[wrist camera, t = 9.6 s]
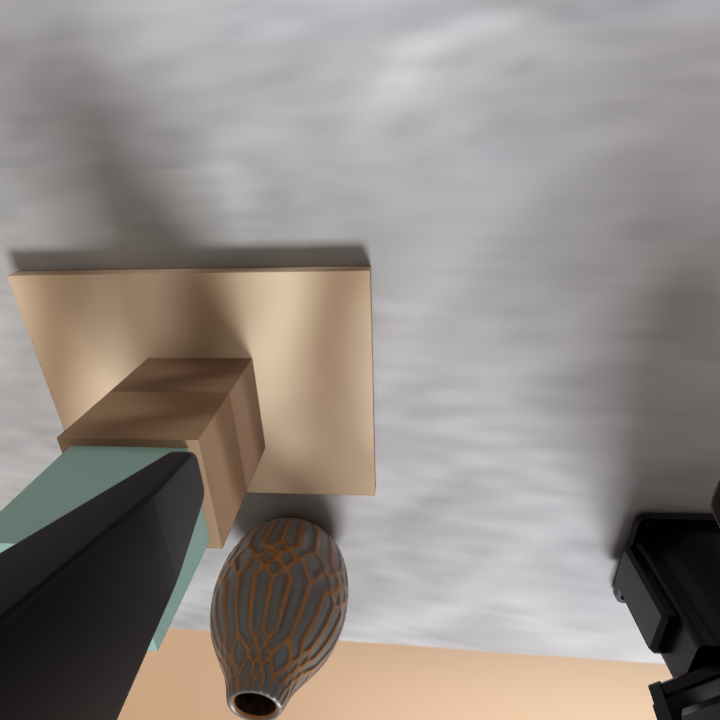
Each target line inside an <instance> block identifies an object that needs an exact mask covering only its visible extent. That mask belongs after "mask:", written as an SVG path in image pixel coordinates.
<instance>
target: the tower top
mask: <svg viewBox="0 0 720 720" xmlns="http://www.w3.org/2000/svg"><path fill="white" fill-rule="evenodd" d="M57 440H58V443H59V445H60V448H61V450H62V453H64V452H65V451H66V450H67V449H68V448H69V447H70V446H111V447H158V448H189V451H190V452H193V453H194V454H195V455H196V456H197V459H198V463H199V467H200V471H201V476H202V480H203V485H204V500H203V503H202V507H203V511H204V516H205V520H206V524H207V529H208V533H209V537H210V540H209V542H208V545H207V547H206V548H220V549H222V548H223V546H224V544H225V541H226V539H227V537H228V534H229V532H230V530H231V527H232V525H233V523H234V520H235V518H236V516H237V513H238V511H239V509H240V506H241V504H242V501H243V499H244V497H245V494H246V492H247V487H246V482H245V476H244V471H243V465H242V459H241V454H240V448H239V443H238V437H237V431H236V426H235V420H234V414H233V409H232V403H231V398H230V393H210V392H109V393H107V394H106V395H105V396H104V397H103V398H102V399H101V400H99V401H98V402H97V403H96V404H95V405H94V406H93V407H91V408H90V409H89V410H88V411H87V412H86V413H85V414H83V415H82V416H81V417H80V418H79V419H78V420H77V421H75V422H74V423H73V424H72V425H71V426H70V427H69V428H67V429H66V430H65V431H64V432H63V433H62V434H61V435H59V436H58V437H57Z"/></svg>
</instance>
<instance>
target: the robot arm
mask: <svg viewBox="0 0 720 720" xmlns="http://www.w3.org/2000/svg"><path fill="white" fill-rule="evenodd" d="M203 500H204V485H203V480H202V476H201V471H200V467H199V463H198V459H197V456H196V455H195V454H194V453H193V452H184V451H173V452H170V453H168V454H166V455H164V456H163V457H161V458H159V459H158V460H156V461H154V462H152V463H151V464H149V465H147V466H146V467H144V468H142V469H141V470H139V471H137V472H136V473H134V474H132V475H131V476H129V477H127V478H126V479H124V480H122V481H120V482H119V483H117V484H115V485H114V486H112V487H110V488H109V489H107V490H105V491H104V492H102V493H100V494H99V495H97V496H95V497H94V498H92V499H90V500H88V501H87V502H85V503H83V504H82V505H80V506H78V507H77V508H75V509H73V510H72V511H70V512H68V513H67V514H65V515H63V516H61V517H60V518H58V519H56V520H55V521H53V522H51V523H50V524H48V525H46V526H45V527H43V528H41V529H40V530H38V531H36V532H35V533H33V534H31V535H29V536H28V537H26V538H24V539H23V540H21V541H19V542H18V543H16V544H14V545H13V546H11V547H9V548H8V549H6V550H4V551H3V552H1V553H0V720H117V719H118V716H119V714H120V712H121V709H122V707H123V705H124V703H125V700H126V698H127V696H128V693H129V691H130V689H131V686H132V684H133V682H134V680H135V677H136V675H137V673H138V671H139V668H140V666H141V664H142V661H143V659H144V657H145V655H146V652H147V650H148V648H149V645H150V643H151V641H152V639H153V636H154V634H155V632H156V629H157V627H158V625H159V623H160V620H161V618H162V616H163V614H164V611H165V609H166V607H167V604H168V602H169V600H170V598H171V595H172V593H173V590H174V588H175V586H176V583H177V581H178V578H179V575H180V572H181V569H182V566H183V563H184V560H185V557H186V554H187V550H188V547H189V544H190V541H191V538H192V535H193V532H194V528H195V525H196V522H197V519H198V516H199V513H200V509H201V506H202V503H203ZM711 507H712V512H713V514H675V513H642V514H640V515H638V516H637V517H636V518H635V520H634V524H633V527H632V530H631V533H630V537H629V540H628V543H627V547H626V549H625V550H624V552H623V555H622V558H621V562H620V565H619V568H618V572H617V575H616V578H615V582H616V583H615V586H614V590H613V593H614V595H615V597H616V599H617V601H619V602H621V603H626V604H627V606H628V608H629V610H630V612H631V614H632V616H633V618H634V620H635V622H636V624H637V626H638V628H639V630H640V632H641V634H642V636H643V638H644V640H645V642H646V644H647V646H648V648H649V649H650V650H651V651H652V652H653V653H657V654H661V655H662V657H663V659H664V661H665V663H666V665H667V667H668V669H669V671H670V673H671V675H672V676H673V678H672V679H670V680H667V681H665V682H662V683H661V682H660V681H658V682H655V683H653V684H650V685H648V686H649V690H650V693H651V696H652V699H653V702H654V705H653V708H654V711H655V714H656V717H657V720H720V479H719V482H718V484H717V487H716V489H715V492H714V494H713V497H712V501H711ZM646 522H647V523H646Z"/></svg>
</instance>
